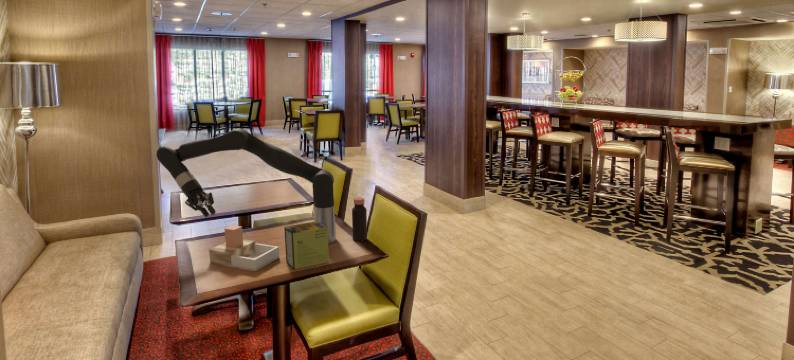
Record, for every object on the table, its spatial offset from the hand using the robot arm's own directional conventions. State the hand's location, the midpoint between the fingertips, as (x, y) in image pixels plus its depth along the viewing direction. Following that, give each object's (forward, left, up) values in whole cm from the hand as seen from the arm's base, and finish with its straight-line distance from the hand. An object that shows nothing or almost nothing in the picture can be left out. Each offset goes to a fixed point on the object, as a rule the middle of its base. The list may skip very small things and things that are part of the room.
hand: (210, 214), depth 217 cm
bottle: (-41, +51, -18) cm, 68 cm away
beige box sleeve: (+1, +12, -18) cm, 21 cm away
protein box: (-8, +43, -18) cm, 47 cm away
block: (+1, +13, -12) cm, 17 cm away
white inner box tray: (+1, +23, -18) cm, 29 cm away
